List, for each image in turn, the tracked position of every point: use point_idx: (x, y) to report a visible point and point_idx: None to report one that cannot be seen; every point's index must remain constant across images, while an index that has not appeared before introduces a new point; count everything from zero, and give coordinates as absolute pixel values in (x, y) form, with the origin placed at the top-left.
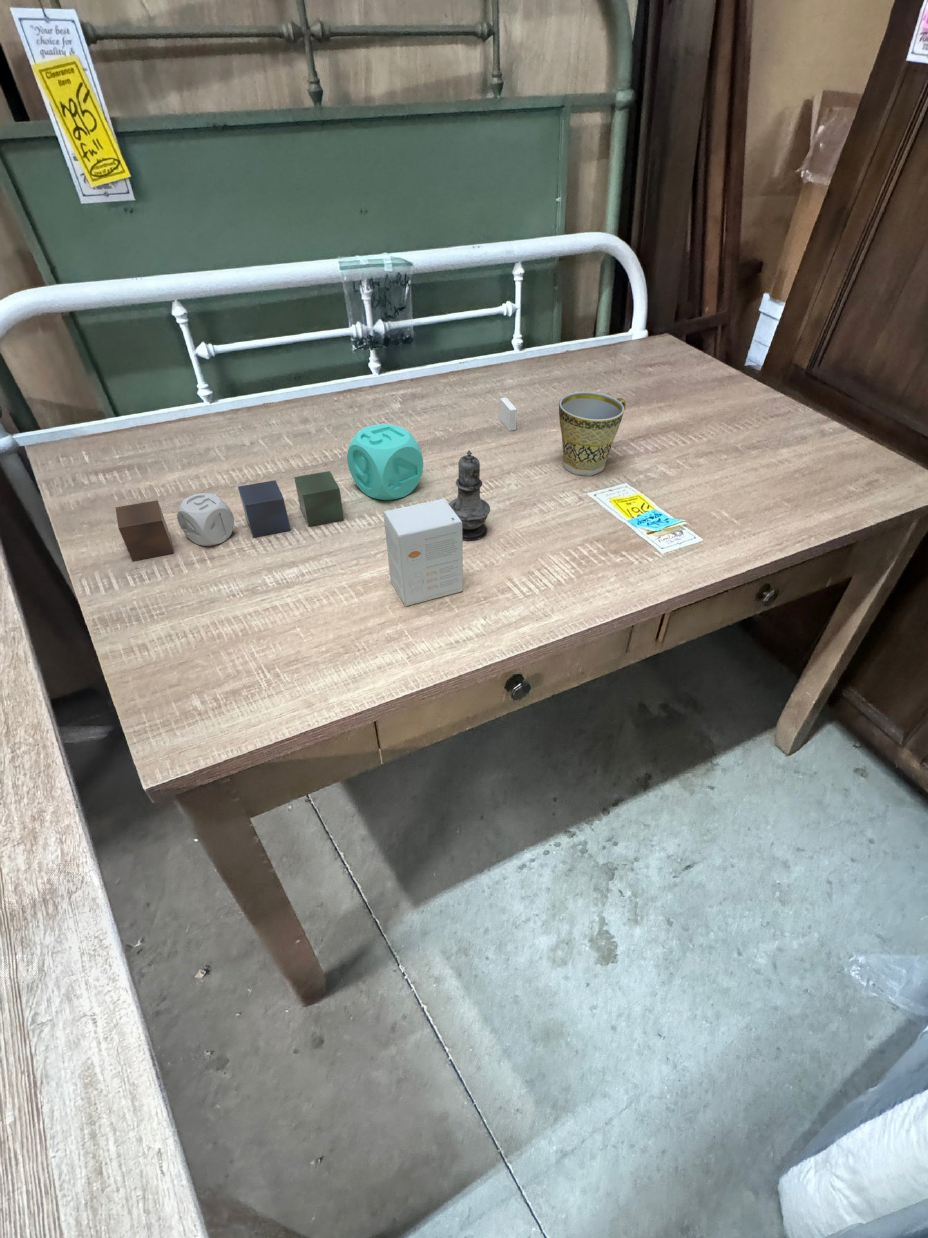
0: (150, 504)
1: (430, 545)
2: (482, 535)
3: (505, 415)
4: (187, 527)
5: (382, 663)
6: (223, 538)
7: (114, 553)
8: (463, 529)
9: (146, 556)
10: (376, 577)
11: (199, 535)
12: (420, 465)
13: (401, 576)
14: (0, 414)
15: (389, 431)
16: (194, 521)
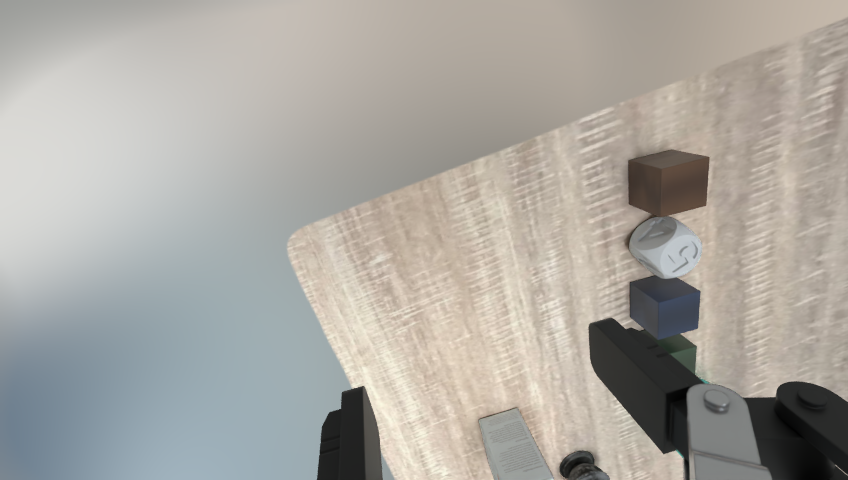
0: (699, 198)
1: None
2: (563, 476)
3: None
4: (659, 225)
5: (405, 404)
6: (635, 256)
7: (651, 136)
8: (575, 465)
9: (630, 176)
10: (528, 395)
11: (642, 237)
12: (676, 450)
13: (490, 447)
14: (596, 371)
15: None
16: (652, 246)
